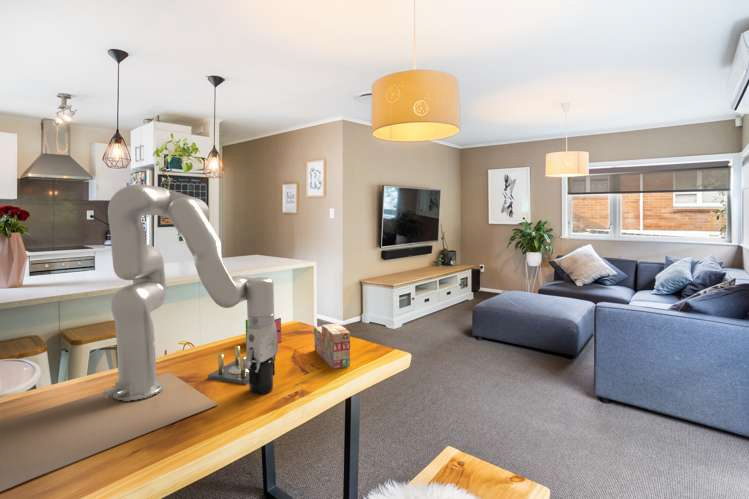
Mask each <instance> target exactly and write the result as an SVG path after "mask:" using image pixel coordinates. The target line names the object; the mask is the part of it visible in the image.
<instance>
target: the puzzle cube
mask: <svg viewBox="0 0 749 499" xmlns="http://www.w3.org/2000/svg"><path fill="white" fill-rule="evenodd" d="M274 322H275V325H276V329H277V338H278V344H280V343H282V318H281V317H277V316H274ZM247 330H248V318H247V319H245V342H246V341H247Z"/></svg>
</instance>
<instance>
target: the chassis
mask: <svg viewBox="0 0 749 499" xmlns="http://www.w3.org/2000/svg"><path fill="white" fill-rule="evenodd" d="M246 357H247V356H241V345H235V346H234V361H231V362H230V363H228V364H224V353H219V354H217V361H218V362H217V365H218V366H217V367H218V369H216V370H215V371H213V372H211V373H209V374H208V375H207V379H209V380H215V381H222V382H228V383H232V384H233V383H234V384H239V385H247V384H248V385H249V371H248V369H247V368H246V366H245V365H244V361H245V359H246Z"/></svg>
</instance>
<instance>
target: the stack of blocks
mask: <svg viewBox="0 0 749 499" xmlns="http://www.w3.org/2000/svg"><path fill="white" fill-rule="evenodd" d="M313 336H314V351H315V352H316V353H317V354H318V356H320V357H321V358H322V359H323V360H324V361H325V362H326V363H327V365H329V366H330V368H331V369H333V370H336V369H342V368H346V367H347V366H348V367H350V366H351V357H350V356H351V332H350V331H349V330H348V329H347V328H345V327H344V326H343V325H341V324H339V323H338V322H337V323H328V324H322V325H320V326H314V327H313ZM348 367H347V368H348Z"/></svg>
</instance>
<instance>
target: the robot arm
mask: <svg viewBox="0 0 749 499" xmlns="http://www.w3.org/2000/svg"><path fill="white" fill-rule="evenodd" d="M107 206H108V207H107V217H108V225H109V232H110V234H109V235H110V244H111V256H112V257H111V258H112V267H113V271H114V274H115V275H116V276H117V277H118V278H119V279H120V280H124V281H132V283H131V284H129V285H125V286H124V287H121V288H120V289H119V290H117V291H116V292H115V293H114V295H113V296H112V299H111V302H110V309H111V313H112V316H113V322H114V326H115V336H116V340H115V341H116V351H117V352H116V353H117V354H116V356H117V374H118V375H117V376H118V381H115V382H114V383H115V385H114V386H113V387H112V388H110V389H107V390H105V391H103V393H102V397H103V398H104V399H108V398H111V397H113V399H114V398H115V400H116V399H118V400H117V401H119V400H123V401H122V402H131V401H130V400H135V401H138V400H137V399H141V400H143V399H142V398H145V399H147V398H146V397H148V398H150V397H149V396H151V397H153V396H152V395H154V394H156V395H157V394H159V393H160V392H161V391H162V390H163V389H164V388H163V387H164V384H163V383H162V381H160V380H157V363H156V361H157V360H156V342H155V340H156V337H155V328H154V323H153V319H152V317H151V312H153V311H156V310H157V309H158V308H160V307H161V306H163V304H164V302H165V300H166V298H167V297H166V296H167V287H166V286H167V284H166V276H165V274H166V273H165V271H166V270H165V262H164V258H163V256H162V253H161V252H160V251H159V249H158V248H156V247H155V246H153V245H150V244H147V239H146V230H145V227H144V224H143V221H142V217H144V216H159V217H162V218H166V219H169V220H170V221H171V223H172V225H173V226H174V228H175V230H176V231H177V232H178V234H179V235H180V237H181V238H182V240H183V241H184V243H185V245H186V247H187V248H188V249H189V251H190V253H191V255H192V258H193V262H194V265H195V268H196V271H197V275H198V277H199V280H200V282H201V284H202V286H203V287H204V288H205V290H206V292H207V293H208V295H209V297H210V298H211V299H212V301H213V302H214V303H215V304H216V305H217V306H219V307H221V308H223V309H224V308H225V309H228V308H229V309H230V308H234V307H235V306H237V305H238V304H239V303H241V302H244V301H246V307H247V308H246V309H247V310H246V312H247V319H248V330H247V341H246V340H245V345H246V348H245V353H246V356H245V357H246V359H245V361H244V365H245V366H246V368H247V369H248V371H249V374H250V384H251V385H258V386H259V385H260V371H259V366H260V363H262V362H264V361H266V360H268V359H269V358H271V359H272V361H273V377H274V376H275V374H276V372H275V371H276V370H275V369H276V368H275V367H276V366H275V362H276V356H277V354H278V352H279V343H278V338H277V329H276V325H275V322H274V317H275V294H274V292H275V290H274V281H273V279H272V278H270V277H265V276H263V277H262V276H261V277H260V276H259V277H247V276H239V275H238V276H236V275H235V276H231V275H230V274H229V272H228V271H227V269H226V267H225V264H224V262H223V259H222V241H221V239H220V237H219V235H218V234H217V232H216V230H215V229H214V228H213V226H212V224H211V222H210V221H209V218H210V209H209V206H208V205H207V203H206V202H205V201H203V200H202V199H200V198H198V197H195V196H194V197H193V196H190V195H187V194H184V193H181V192H178V191H176V190H175V191H174V190H171V189H168V188H166V187H161V186H156V185H148V184H141V183H140V184H130V185H127V186H125V187H122V188H120V189H119V190H118V191H116V192H115V193H114V194H113V195H112V197H111V198H110V201H109V203H108V205H107ZM254 358H255V359H256V360H254ZM253 363H256V367H255V366H254V365H253ZM158 392H159V393H158ZM154 396H155V395H154Z"/></svg>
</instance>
